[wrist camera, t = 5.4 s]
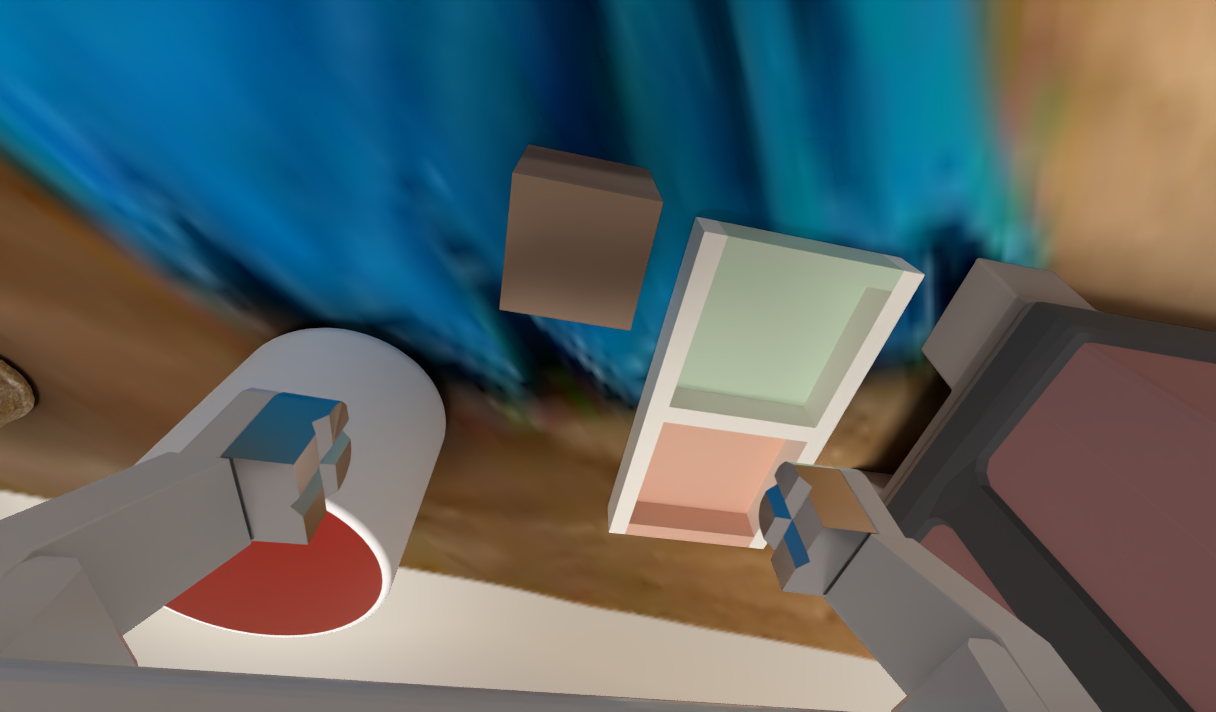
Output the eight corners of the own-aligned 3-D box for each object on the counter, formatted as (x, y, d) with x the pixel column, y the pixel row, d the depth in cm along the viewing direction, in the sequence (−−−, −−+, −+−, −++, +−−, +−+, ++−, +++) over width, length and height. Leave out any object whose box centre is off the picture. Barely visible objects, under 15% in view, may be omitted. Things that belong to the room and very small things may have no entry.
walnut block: (528, 143, 20) (512, 172, 16) (648, 168, 21) (663, 202, 17) (516, 258, 23) (499, 309, 18) (622, 277, 23) (630, 330, 19)
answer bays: (695, 216, 22) (704, 231, 20) (900, 257, 23) (924, 274, 21) (607, 506, 32) (608, 532, 30) (754, 522, 33) (763, 548, 31)
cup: (417, 304, 24) (323, 452, 15) (472, 456, 29) (425, 626, 21) (215, 329, 24) (14, 486, 16) (307, 474, 29) (194, 649, 21)
